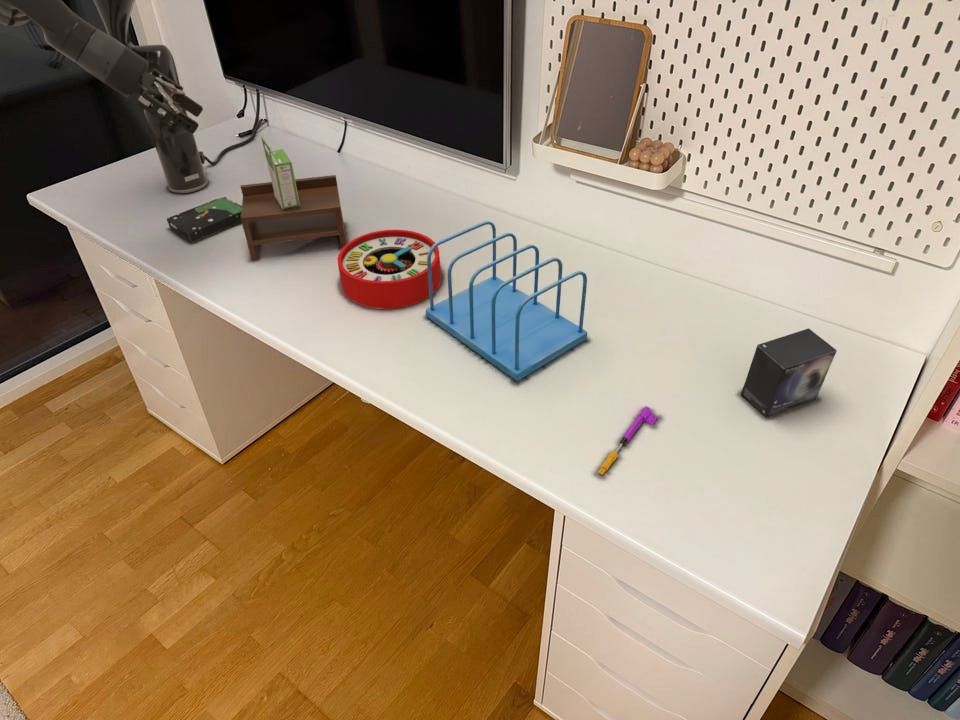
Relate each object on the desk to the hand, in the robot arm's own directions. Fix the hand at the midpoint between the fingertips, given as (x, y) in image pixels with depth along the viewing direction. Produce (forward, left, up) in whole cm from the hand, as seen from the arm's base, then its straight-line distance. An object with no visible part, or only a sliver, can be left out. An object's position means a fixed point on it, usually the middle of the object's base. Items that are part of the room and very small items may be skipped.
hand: (198, 120), depth 131 cm
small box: (+69, +89, -29) cm, 116 cm away
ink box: (0, +13, -19) cm, 23 cm away
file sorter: (+41, +50, -29) cm, 70 cm away
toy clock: (+20, +32, -29) cm, 47 cm away
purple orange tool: (+73, +62, -29) cm, 99 cm away
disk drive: (-13, -6, -29) cm, 32 cm away
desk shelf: (0, +14, -28) cm, 32 cm away
